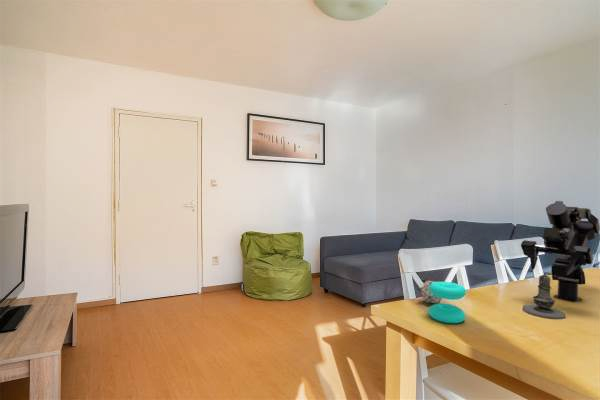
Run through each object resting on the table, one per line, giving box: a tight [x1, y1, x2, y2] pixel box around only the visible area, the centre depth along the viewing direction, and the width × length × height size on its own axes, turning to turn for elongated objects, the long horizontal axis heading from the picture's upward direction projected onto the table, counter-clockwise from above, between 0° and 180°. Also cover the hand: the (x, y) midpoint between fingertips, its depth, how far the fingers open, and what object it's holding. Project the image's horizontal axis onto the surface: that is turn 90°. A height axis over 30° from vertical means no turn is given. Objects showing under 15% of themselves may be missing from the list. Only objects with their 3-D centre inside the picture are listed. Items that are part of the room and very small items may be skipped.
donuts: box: [428, 281, 467, 324], centre depth 101 cm, size 10×10×10 cm
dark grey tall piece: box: [532, 272, 556, 313], centre depth 108 cm, size 6×6×12 cm
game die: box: [417, 278, 443, 304], centre depth 114 cm, size 9×8×10 cm
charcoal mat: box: [522, 304, 566, 320], centre depth 108 cm, size 11×11×1 cm
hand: (548, 271), depth 110 cm, fingers open, 9 cm apart
